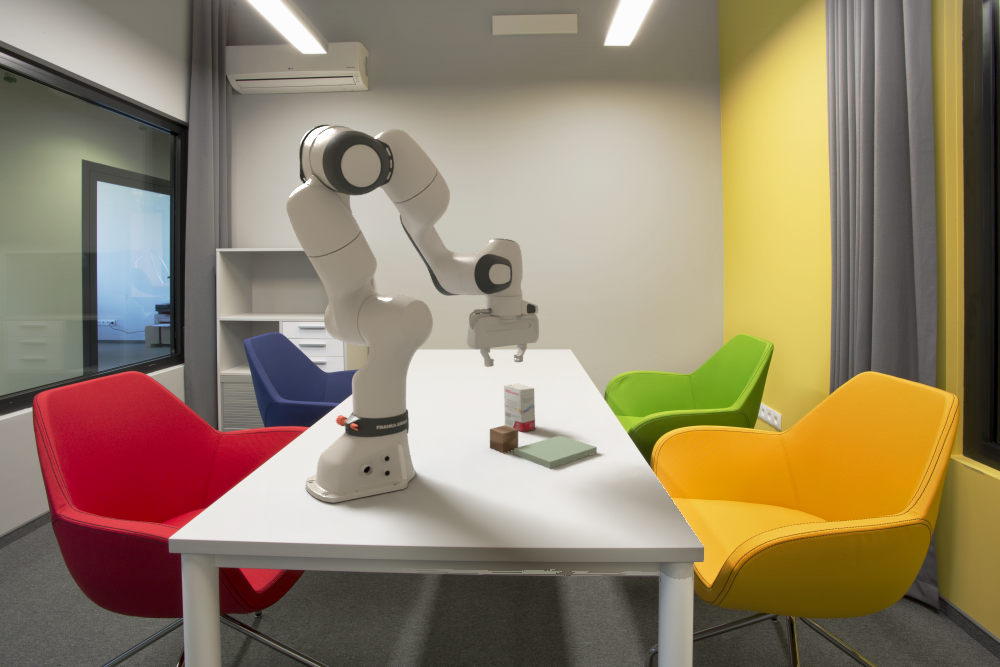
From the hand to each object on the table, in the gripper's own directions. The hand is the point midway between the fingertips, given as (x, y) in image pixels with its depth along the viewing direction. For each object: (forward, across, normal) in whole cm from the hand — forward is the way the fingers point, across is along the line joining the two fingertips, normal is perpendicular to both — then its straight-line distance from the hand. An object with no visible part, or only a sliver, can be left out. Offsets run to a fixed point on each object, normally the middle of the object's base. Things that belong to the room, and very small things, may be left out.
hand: (504, 364), depth 132 cm
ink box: (+22, +15, +11) cm, 28 cm away
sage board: (+21, +7, -11) cm, 25 cm away
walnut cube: (+21, 0, 0) cm, 21 cm away
